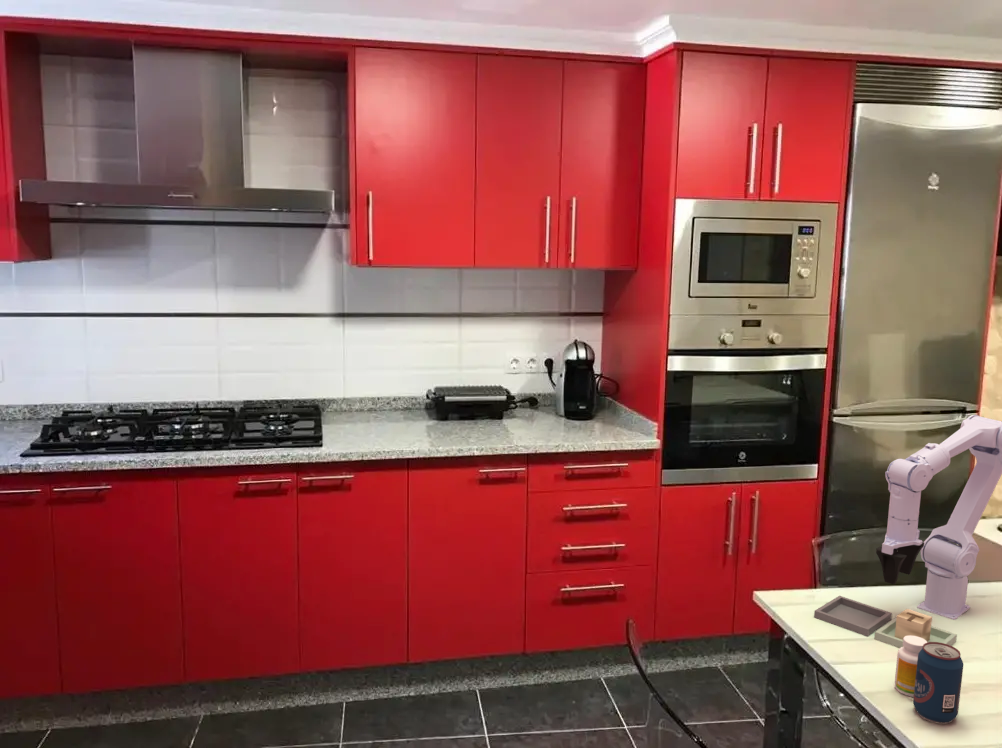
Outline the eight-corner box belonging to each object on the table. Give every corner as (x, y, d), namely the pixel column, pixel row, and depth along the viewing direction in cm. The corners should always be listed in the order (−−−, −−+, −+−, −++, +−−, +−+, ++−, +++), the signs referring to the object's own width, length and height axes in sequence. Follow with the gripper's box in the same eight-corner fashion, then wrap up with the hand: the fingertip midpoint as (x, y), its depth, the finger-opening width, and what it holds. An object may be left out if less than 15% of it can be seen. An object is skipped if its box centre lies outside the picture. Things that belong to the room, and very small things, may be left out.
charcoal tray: (838, 603, 189) (839, 595, 189) (891, 620, 181) (892, 612, 180) (813, 618, 181) (814, 610, 181) (867, 637, 173) (868, 629, 173)
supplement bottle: (930, 699, 150) (936, 649, 148) (898, 696, 151) (903, 645, 150) (922, 684, 155) (927, 635, 154) (891, 680, 156) (895, 631, 155)
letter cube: (904, 631, 175) (906, 608, 175) (929, 639, 172) (932, 616, 171) (893, 639, 172) (896, 615, 171) (919, 648, 168) (921, 624, 167)
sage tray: (897, 623, 180) (898, 615, 179) (956, 642, 171) (956, 634, 171) (874, 640, 172) (875, 631, 172) (933, 661, 164) (934, 652, 163)
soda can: (904, 703, 149) (910, 640, 147) (942, 702, 149) (948, 639, 147) (926, 726, 142) (933, 660, 140) (966, 725, 142) (973, 659, 140)
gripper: (909, 529, 169) (903, 593, 171) (936, 513, 179) (930, 574, 181) (873, 520, 174) (868, 582, 176) (902, 505, 184) (896, 564, 186)
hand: (897, 577), depth 179 cm, fingers open, 7 cm apart
